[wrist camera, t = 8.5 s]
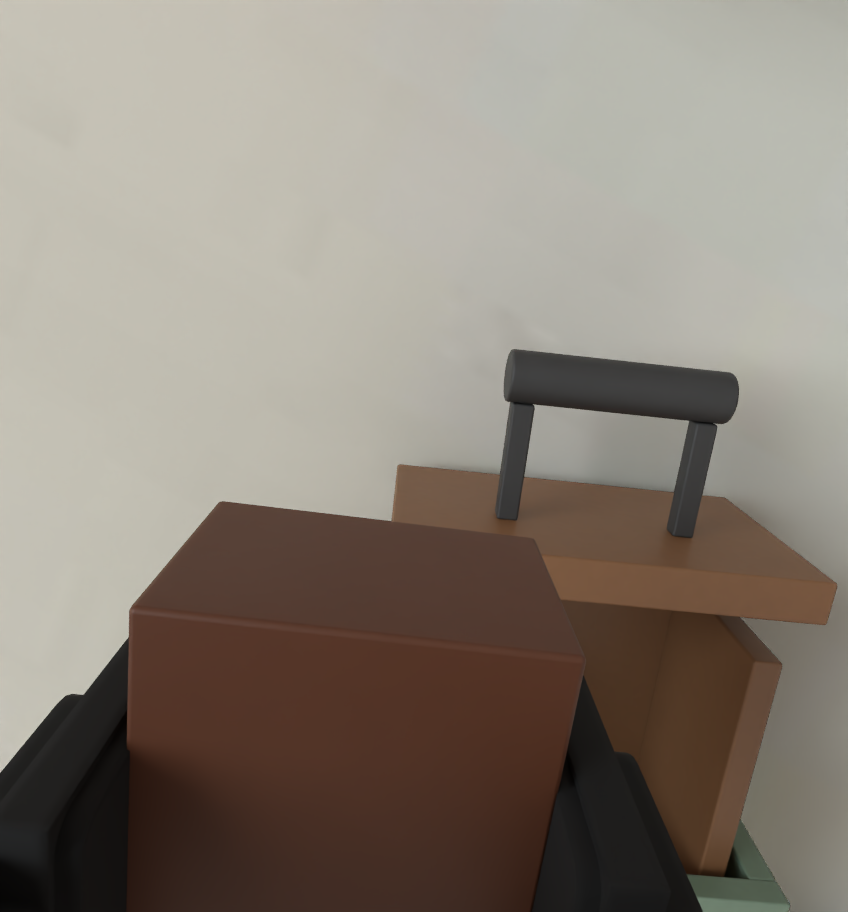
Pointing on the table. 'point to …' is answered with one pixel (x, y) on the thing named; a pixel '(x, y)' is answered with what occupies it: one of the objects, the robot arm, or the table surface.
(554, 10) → the table surface
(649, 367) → the drawer
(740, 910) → the cabinet
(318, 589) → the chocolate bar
